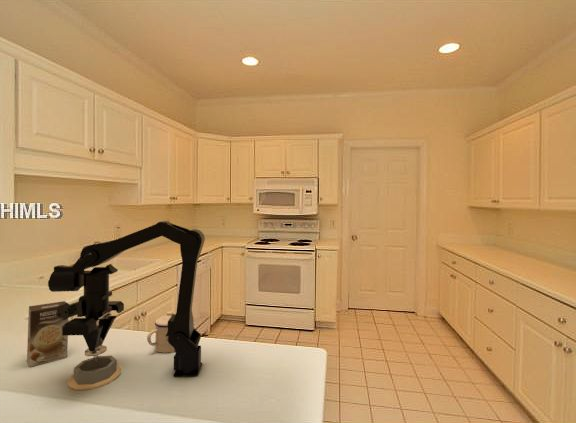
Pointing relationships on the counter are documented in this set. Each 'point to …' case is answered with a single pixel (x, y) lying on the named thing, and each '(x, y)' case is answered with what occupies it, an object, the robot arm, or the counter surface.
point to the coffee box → (45, 334)
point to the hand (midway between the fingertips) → (95, 348)
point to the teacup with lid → (161, 334)
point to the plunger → (96, 350)
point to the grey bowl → (94, 373)
